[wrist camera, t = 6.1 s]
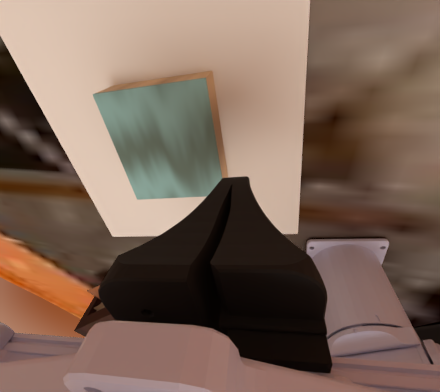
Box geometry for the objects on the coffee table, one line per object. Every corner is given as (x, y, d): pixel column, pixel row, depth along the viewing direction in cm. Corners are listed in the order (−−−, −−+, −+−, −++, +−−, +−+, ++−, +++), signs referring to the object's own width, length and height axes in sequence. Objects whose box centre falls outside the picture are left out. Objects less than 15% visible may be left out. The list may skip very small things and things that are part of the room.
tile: (224, 195, 20) (137, 199, 21) (228, 177, 22) (149, 181, 24) (205, 78, 15) (92, 94, 16) (212, 70, 17) (113, 85, 19)
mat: (297, 231, 26) (297, 233, 25) (114, 234, 30) (112, 236, 30) (314, -113, 12) (316, -116, 12) (-25, -19, 16) (-31, -20, 16)
